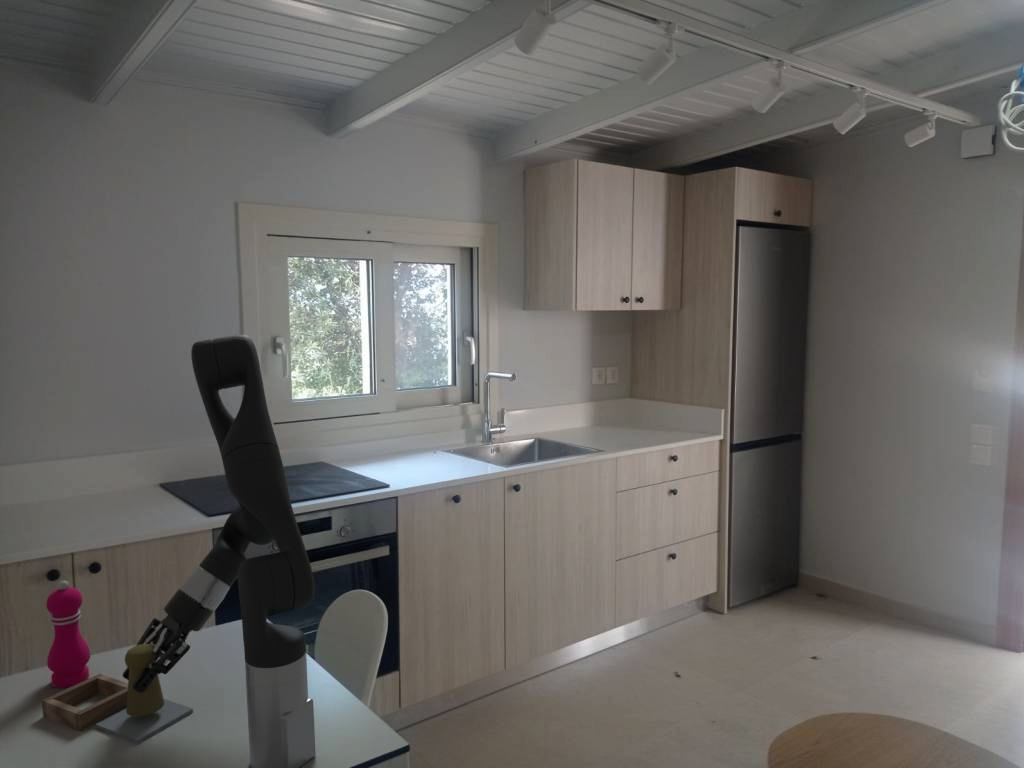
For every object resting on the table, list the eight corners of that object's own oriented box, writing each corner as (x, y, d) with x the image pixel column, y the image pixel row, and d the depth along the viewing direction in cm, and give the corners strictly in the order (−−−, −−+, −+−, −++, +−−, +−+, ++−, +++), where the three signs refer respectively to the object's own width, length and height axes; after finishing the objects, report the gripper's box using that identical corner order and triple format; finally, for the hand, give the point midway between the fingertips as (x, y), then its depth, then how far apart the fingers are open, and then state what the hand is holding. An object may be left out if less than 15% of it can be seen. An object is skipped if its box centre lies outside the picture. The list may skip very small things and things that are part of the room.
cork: (149, 718, 128) (144, 656, 127) (118, 714, 129) (113, 653, 128) (171, 699, 134) (167, 640, 133) (142, 696, 135) (137, 638, 134)
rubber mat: (193, 711, 134) (192, 708, 134) (137, 743, 124) (137, 740, 124) (152, 697, 139) (151, 694, 139) (95, 727, 129) (95, 724, 129)
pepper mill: (54, 674, 149) (47, 576, 147) (95, 668, 151) (88, 572, 149) (44, 692, 142) (35, 589, 140) (87, 685, 144) (79, 585, 142)
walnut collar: (137, 701, 138) (136, 686, 137) (81, 731, 128) (79, 714, 128) (100, 688, 143) (99, 673, 142) (43, 716, 133) (41, 700, 133)
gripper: (168, 577, 140) (102, 661, 133) (196, 599, 129) (126, 690, 123) (199, 597, 144) (136, 679, 137) (228, 619, 133) (162, 709, 127)
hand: (131, 684), depth 130 cm, fingers closed on cork, 5 cm apart
